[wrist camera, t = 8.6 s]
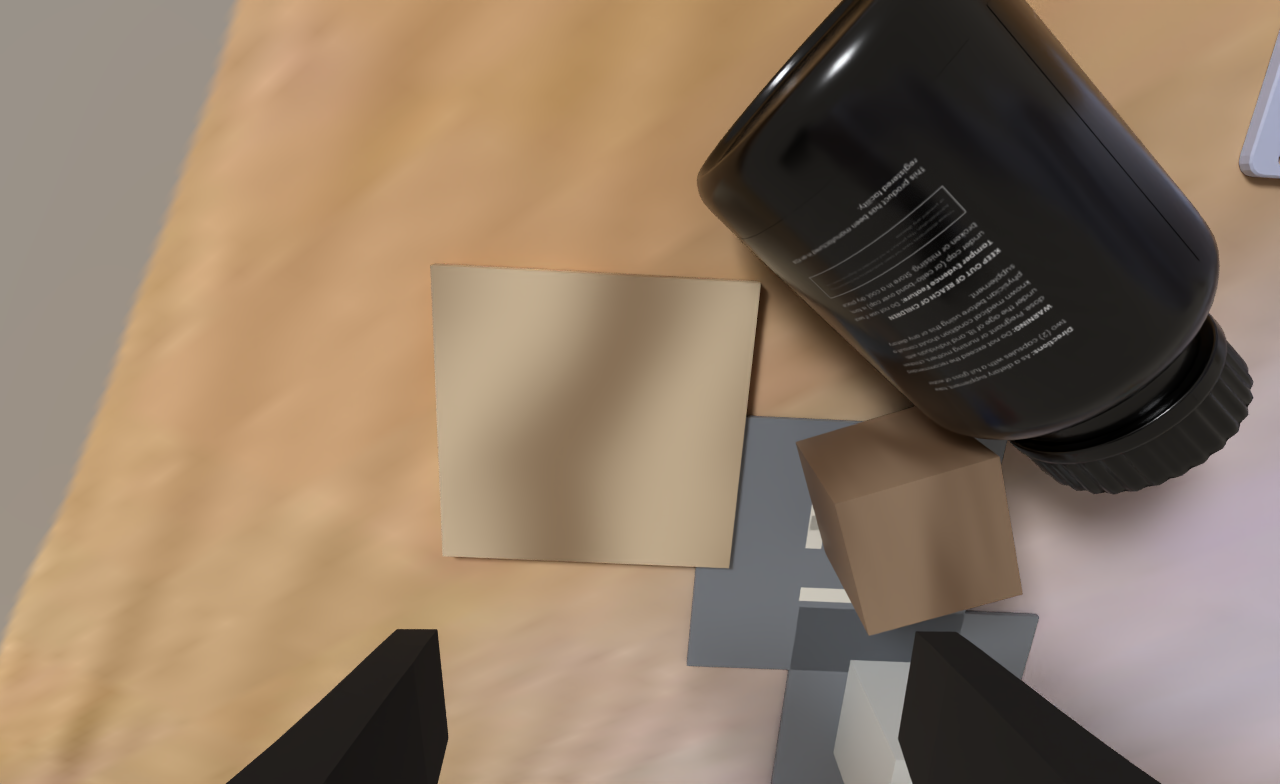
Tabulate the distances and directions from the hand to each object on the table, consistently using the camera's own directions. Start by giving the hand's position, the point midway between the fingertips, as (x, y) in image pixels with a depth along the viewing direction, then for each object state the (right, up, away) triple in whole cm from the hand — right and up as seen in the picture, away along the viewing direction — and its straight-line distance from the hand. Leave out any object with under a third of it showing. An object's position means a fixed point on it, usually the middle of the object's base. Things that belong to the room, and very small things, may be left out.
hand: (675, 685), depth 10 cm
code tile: (+6, -1, +11) cm, 13 cm away
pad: (-2, +4, +10) cm, 10 cm away
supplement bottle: (+3, +12, +4) cm, 12 cm away
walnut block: (+5, +1, +8) cm, 10 cm away
